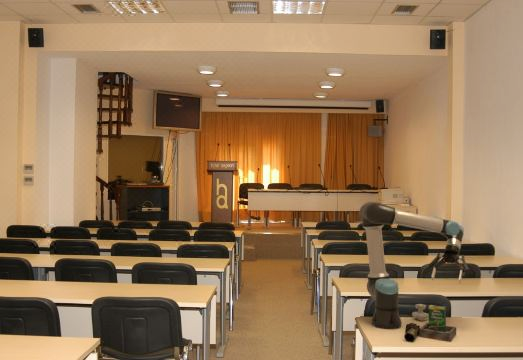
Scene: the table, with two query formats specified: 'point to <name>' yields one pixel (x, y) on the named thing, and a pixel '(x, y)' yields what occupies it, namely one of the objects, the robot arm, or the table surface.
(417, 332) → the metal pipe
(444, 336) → the gray square frame
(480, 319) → the table surface
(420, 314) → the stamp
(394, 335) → the table surface
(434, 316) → the coffee box
